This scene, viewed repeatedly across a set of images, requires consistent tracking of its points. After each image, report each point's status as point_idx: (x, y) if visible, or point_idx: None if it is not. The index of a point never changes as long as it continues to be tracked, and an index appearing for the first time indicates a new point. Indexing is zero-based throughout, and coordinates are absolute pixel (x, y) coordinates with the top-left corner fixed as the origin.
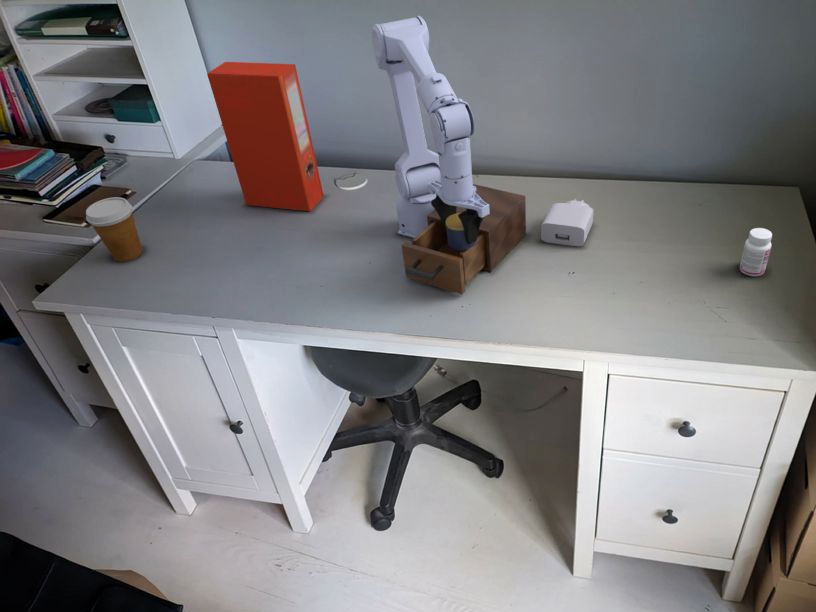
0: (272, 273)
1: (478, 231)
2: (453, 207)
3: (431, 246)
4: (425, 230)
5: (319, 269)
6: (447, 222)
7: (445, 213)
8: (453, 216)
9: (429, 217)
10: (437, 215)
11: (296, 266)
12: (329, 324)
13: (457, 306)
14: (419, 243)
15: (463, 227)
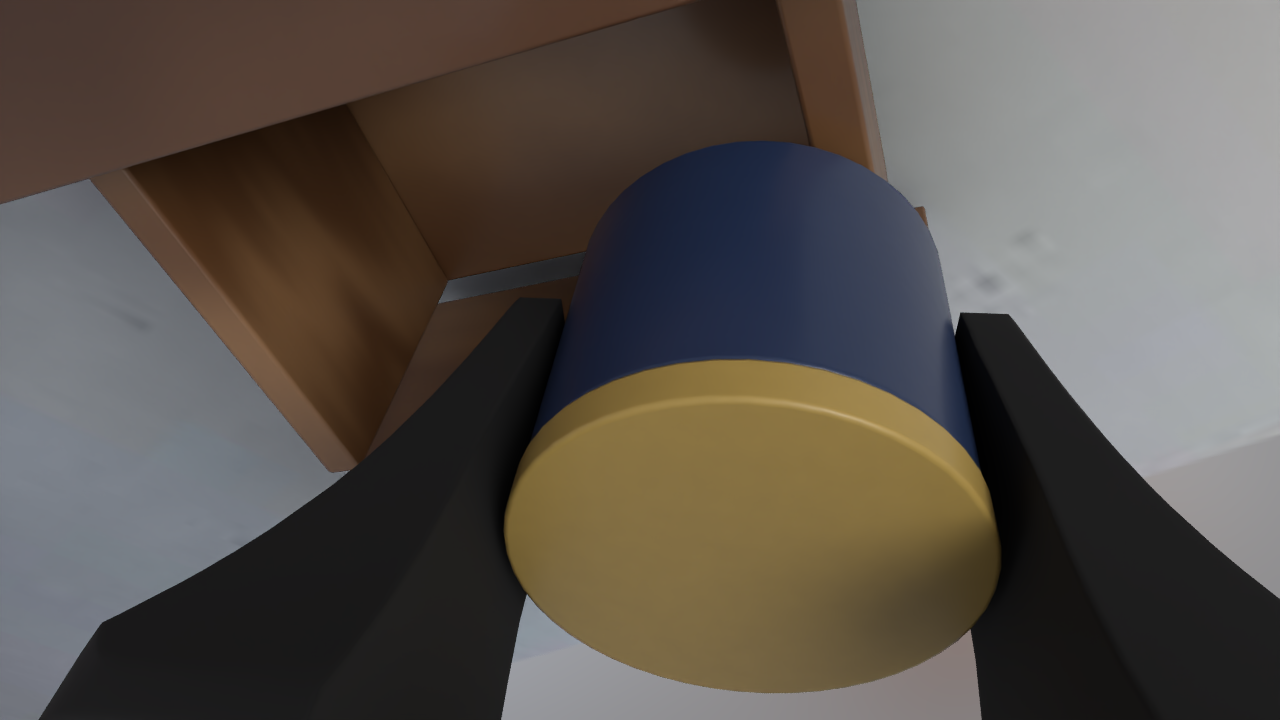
0: (35, 581)
1: (1075, 403)
2: (450, 593)
3: (305, 148)
4: (225, 317)
5: (84, 484)
6: (646, 662)
7: (495, 669)
8: (572, 556)
9: (4, 197)
10: (6, 126)
11: (12, 517)
12: (537, 646)
13: (953, 298)
14: (350, 380)
15: (982, 703)
